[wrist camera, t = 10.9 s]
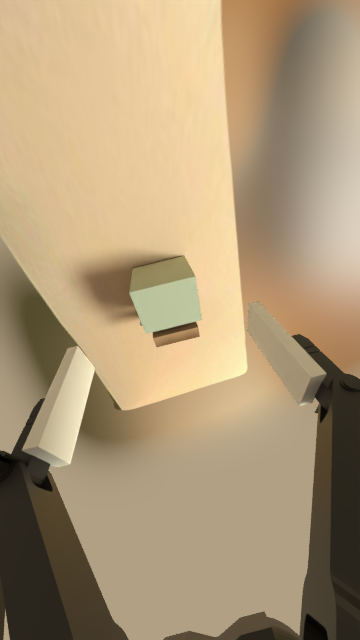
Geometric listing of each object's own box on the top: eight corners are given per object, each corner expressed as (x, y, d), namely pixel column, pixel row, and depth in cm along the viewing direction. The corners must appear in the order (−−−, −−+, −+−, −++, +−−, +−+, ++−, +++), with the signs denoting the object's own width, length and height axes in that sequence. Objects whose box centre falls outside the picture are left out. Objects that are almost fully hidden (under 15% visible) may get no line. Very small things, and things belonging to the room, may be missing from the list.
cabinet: (129, 269, 39) (124, 293, 30) (184, 255, 39) (195, 276, 30) (149, 324, 48) (150, 356, 39) (194, 313, 48) (205, 342, 39)
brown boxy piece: (151, 308, 45) (153, 338, 36) (187, 299, 45) (198, 327, 36) (155, 319, 47) (157, 350, 38) (189, 311, 47) (200, 339, 39)
